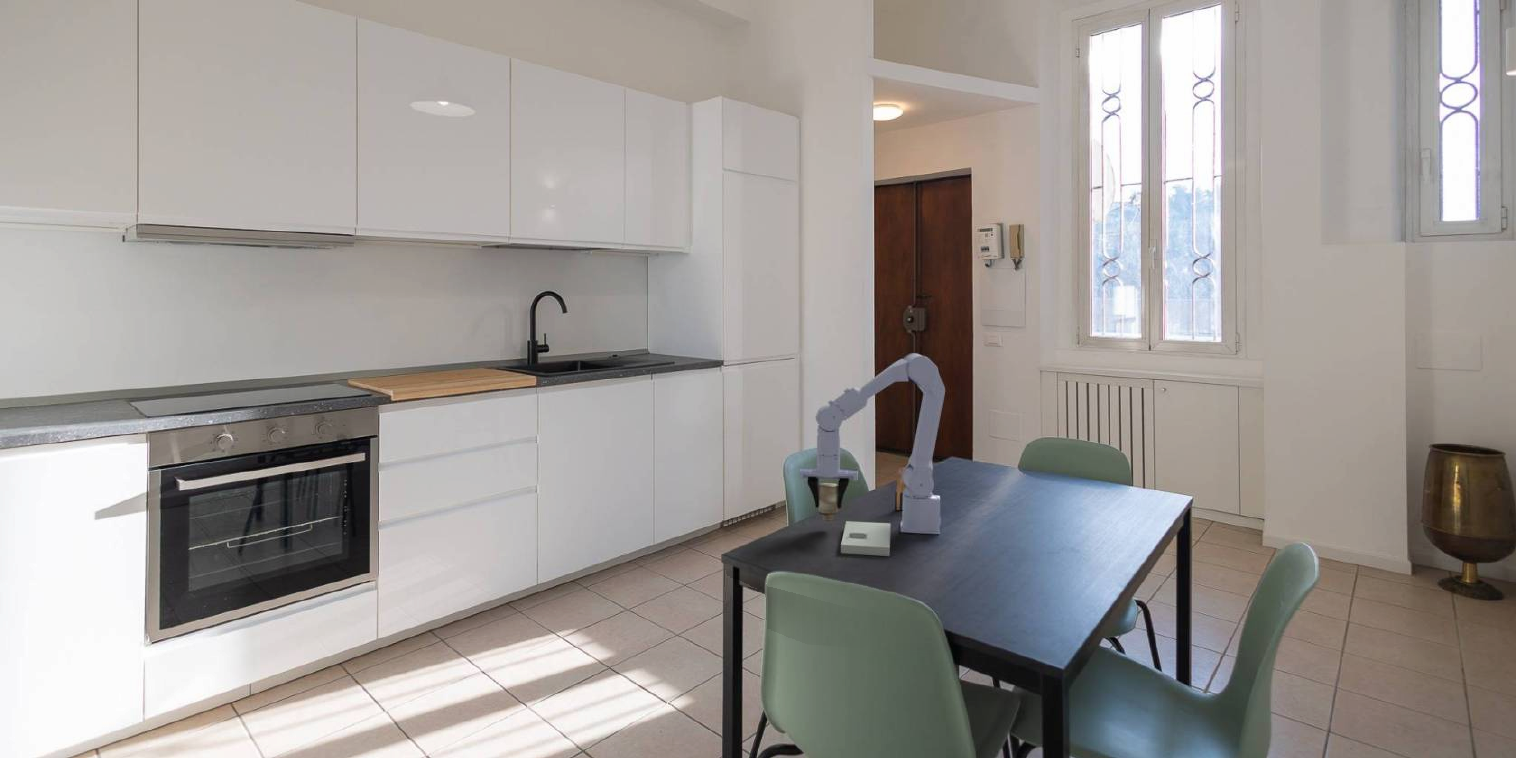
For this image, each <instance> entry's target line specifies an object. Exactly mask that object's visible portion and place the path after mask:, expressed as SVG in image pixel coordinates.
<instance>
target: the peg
mask: <svg viewBox="0 0 1516 758" xmlns="http://www.w3.org/2000/svg"><path fill="white" fill-rule="evenodd" d="M838 498H839V489H838V483H833V482H823V483H819V507H818V514H820V515H821V516H822V518H823V521H826V522H832V521H834V520H835V519H834V518H836V515H838V514H839V508H838Z"/></svg>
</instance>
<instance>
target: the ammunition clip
mask: <svg viewBox="0 0 1516 758" xmlns="http://www.w3.org/2000/svg"><path fill="white" fill-rule="evenodd" d="M907 465H908V464H906V465H905V466H902V468H901V466H900V467H899V468H898V471H897V481H896V491H895V495H894V497H895V498H894V510H895V511H897V510H898V512H902V510H903V491H904V489H905V487H906V485H905V484H904V482H903V480H902V473H903V471H904V469H905V468H906V467H907Z"/></svg>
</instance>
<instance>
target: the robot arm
mask: <svg viewBox="0 0 1516 758" xmlns="http://www.w3.org/2000/svg"><path fill="white" fill-rule="evenodd" d="M909 379H910V380H912V381H913V382H915V383H916V385H917V388H919V389H920V391H921V392H922V393H923V395H922V401H921V405H920V406H921V407H920V410H919V416H918V422H917V427H916V432H915V437H914V442H913V448H912V453H911V455H910V456H909V458H908V461H907V464H906V465H907V467H906V466H905V467H906V468H905V467H904V468H905V469H904V471H903V473H902V480H903V482H904V484H905V485H906V487H905V489H904V491H903V511H901V512H902V513H901V515H902V519H901V521H900V533H905V534H906V533H907V534H908V533H909V534H910V533H911V534H927V535H930V534H931V535H940V534H941V525H942V517H941V496H940V495H936V494H933V490H934V488H935V483H934V478H933V472H934V467H933V456H934V451H935V446H936V441H937V436H938V430H939V427H940V426H939V425H940V419H941V415H942V410H943V404H944V400H945V395H946V394H945V393H946V388H945V385H944V382H943V380H942V377H941V375H940V373H939V368H938V366H937V365H936V364H935V363H934V362H933V361H932V359H930V358H929V357H927V356H925V355H922V354H919V353H918V352H917V353H916V352H915V353H914V352H913V353H909V354H907V355H905V357H903V358H901V359H899V360H897V361H895V362H893V363H892V364H891V365H889V366H888V367H886V369H884V370H883V371H881V372H880V373H879V374H877V375H876V376H875V377H874V378H872V379H870V380H869V381H868V382H867V383H865V384H864V385H862V386H861V387H855V386H854V387H851V388H850V389H849V388H848V387H846V388H845V389H844V390H843V392H844V393H842V394H841V395H839V396H837V397H836V398H835V399H834V400H831V399H830V400H828V402H827V403H828V404H827V405H824V406H822V407H820V408H819V409H818V410H817V413H816V415H815V421H816V423H817V424H818V425H817V432H816V433H817V436H816V468H811V469H810V468H809V469H808V468H807V469H803V468H802V469H801V468H800V469H799V471H798V472H799V473H798V474H799V475H798V478H799V479H800V480H801V479H807V481H806V483H807V486H808V487H809V489H810V491H811V494H812V497H813V502H814V506H815V508H818V509H819V484H820V479H821V480H822V479H823V480H838V481H837V484H838V489H839V493H838V510H839V509H842V503H843V497H844V495H845V492H846V490H847V488H848V486H849V482H850V481H851V480H852V481H854V482H855V481H858V480H859V471H858V470H857V471H856V470H847V469H841V436H840V427H841V426H842V423H843V421H847V420H848V419H850V418H851V417H853V416H854V415H856V414H858V412H860V411H861V410H863V409H864V408H865V407H867V403H868V400H869V399H870V398H871V397H873V396H875V395H876V394H877V393H880V392H881V391H883V390H884V389H885V388H887V387H889V386H891V385H892V384H894V383H896V382H909Z"/></svg>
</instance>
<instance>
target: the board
mask: <svg viewBox="0 0 1516 758" xmlns="http://www.w3.org/2000/svg"><path fill="white" fill-rule="evenodd" d="M843 529H844V530H843V534H842V539H841V542H840V554H850V555H870V556H884V557H891V556H890V553H891V552H890V551H891V550H890V548H891V523H887V522H868V521H866V522H865V521H851V520H850V521H849V520H848V521H847V520H846V521H845V525H844V528H843Z"/></svg>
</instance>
